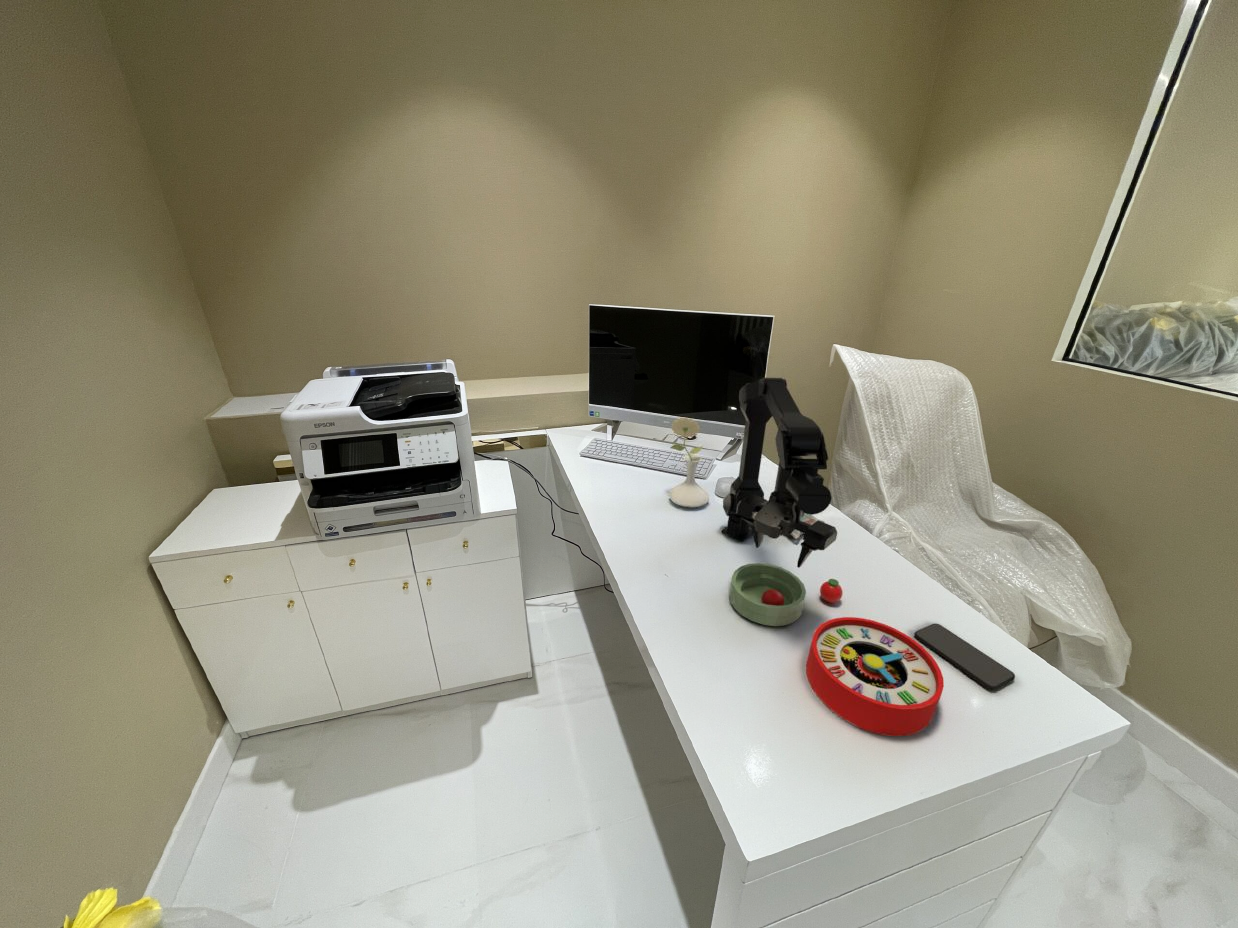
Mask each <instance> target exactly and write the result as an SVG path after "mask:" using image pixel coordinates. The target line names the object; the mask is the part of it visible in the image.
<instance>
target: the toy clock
mask: <svg viewBox="0 0 1238 928" xmlns="http://www.w3.org/2000/svg"><path fill="white" fill-rule="evenodd" d="M806 659H807V660H806V664H805V673H806V678H807V680H808V682H809V683H808V684H809V685H810V687H811V689H812V690H813V692H814V694H815V695H816V697H818V699H819V700H820V702H822V703H823V704H824V706H825V707H827V708H828V709H829V710H830V711H831V712H833V713H834V714H835V715H837V716H838V717H840V718H841V719H842V720H843V721H846V722H848V723H849V724H851V725H853V726H855V727H857V728H860V729H862V730H865V731H867V732H871V733H874V734H878V735H882V736H889V737H906V736H910V735H914V734H918V733H919V732H921V731H923V730H924V729H926V727H928V725H929V724H930V723H931V721H932V719H933V717H934V714H935V712H936V709H937V708H938V707H937V706H938V704H939V702H940V699H941V697H942V694H943V691H944V687H945V685H944V684H945V683H944V676H943V673H942V669H941V668H940V666H939V664H938V663H937V661H936V660H935V659H934V657H933V656H932V655H931V654H930V652H929V651H928V650H927V649H925V647H923V645H921V644H920V643H919V642H917V641H916V640H915V639H914V638H912V637H910V636H909V635H907V634H906V633H904V632H902V631H900V630H899V629H897V628H894V627H892V626H890V625H888V624H886V623H883V622H879V621H877V620H873V619H868V618H863V617H856V616H855V617H854V616H843V617H835V618H832V619H828V620H827V621H824V622H822V623H821V624H820V625H819V626H817V628H816V629H815V631H814V632H813V635H812V639H811V643H810V647H809V652H808V656H807V658H806Z"/></svg>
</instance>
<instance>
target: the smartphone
mask: <svg viewBox="0 0 1238 928" xmlns="http://www.w3.org/2000/svg"><path fill="white" fill-rule="evenodd" d="M913 635H914V637H915V639H917V641H919V642H921V643H922V644H924V645H925V646H927V647H928V648H930V649H931V650H932V651H934V652H935V653H936V654H938V655H939V656H941V657H942V658H944V659H945V660H946V661H947V662H949V663H951V664H952V665H953V666H955V668H957V669H959V670H960V671H962V672H963V673H965V674H966V675H968V677H970V678H971V679H974V680H975V682H977V683H979V684H980V685H982V686H983V687H985V688H986V689H988V690H990V691H995V690H998V689H1000V688H1001V687H1003V686H1004V685H1006V684H1008V683H1010V682H1012V681H1014V680H1015V678H1016V674H1015V672H1014V671H1012V670H1010V669H1009V668H1007V667H1006V666H1004V665H1003V664H1001V663H1000V662H998V661H996V660H995V659H993V658H992V657H990V656H989V655H987V654H986V653H985V652H983V651H981V650H980V649H978V648H977V647H975V646H973V645H972V644H970V643H969V642H967V641H966V640H965V639H963V638H961V637H960V636H959V635H957V634H956V633H954V632H953V631H950V629H947V628H945V627H944V626H943V625H941V624H939V623H932V624H930V625H927V626H925V627H921V628H920V629H918V630H916V631H914V633H913Z"/></svg>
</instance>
